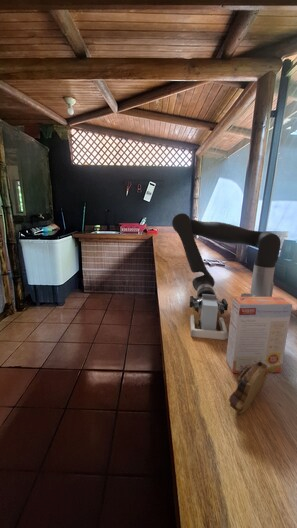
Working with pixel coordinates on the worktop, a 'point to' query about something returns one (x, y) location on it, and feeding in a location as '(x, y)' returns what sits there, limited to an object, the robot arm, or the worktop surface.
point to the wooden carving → (248, 386)
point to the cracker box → (258, 332)
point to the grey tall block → (208, 312)
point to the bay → (209, 331)
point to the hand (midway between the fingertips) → (209, 311)
